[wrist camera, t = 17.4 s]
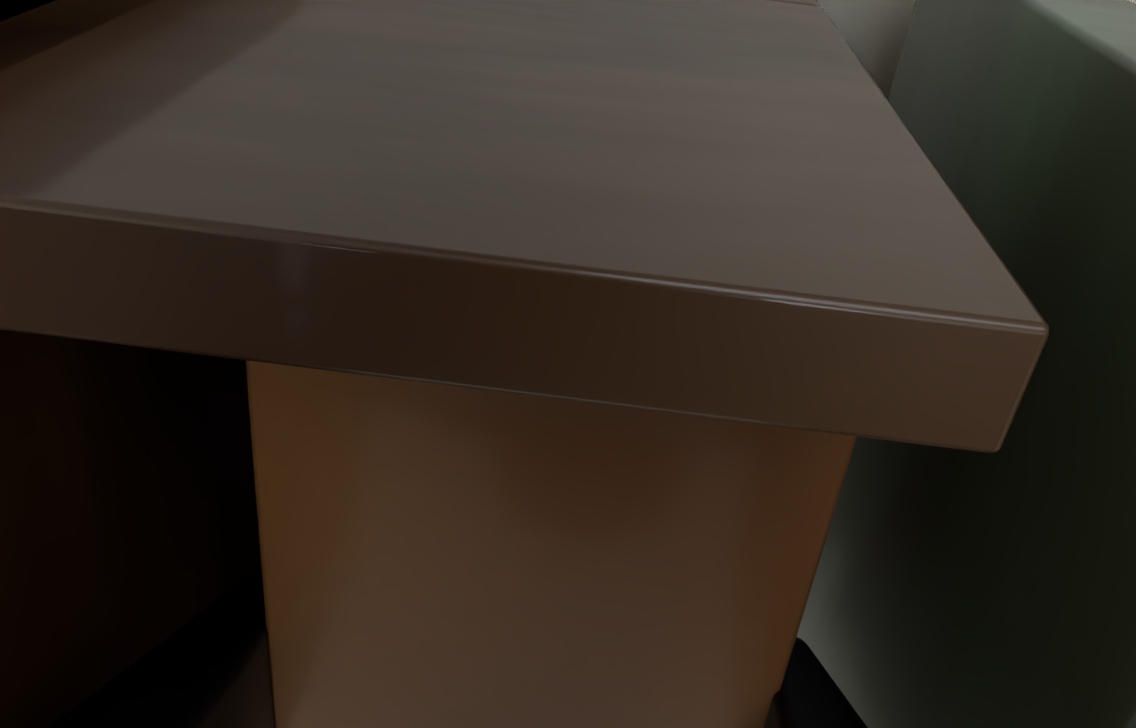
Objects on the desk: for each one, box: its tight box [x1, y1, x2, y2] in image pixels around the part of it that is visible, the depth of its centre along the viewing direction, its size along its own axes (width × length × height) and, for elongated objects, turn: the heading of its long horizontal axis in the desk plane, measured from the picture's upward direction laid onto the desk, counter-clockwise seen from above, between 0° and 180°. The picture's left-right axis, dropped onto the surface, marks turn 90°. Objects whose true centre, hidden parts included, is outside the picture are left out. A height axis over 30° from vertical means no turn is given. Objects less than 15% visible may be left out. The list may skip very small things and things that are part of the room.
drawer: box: [0, 0, 1136, 728], centre depth 11 cm, size 14×11×9 cm
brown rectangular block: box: [245, 360, 857, 728], centre depth 9 cm, size 4×8×2 cm, turn 174°
